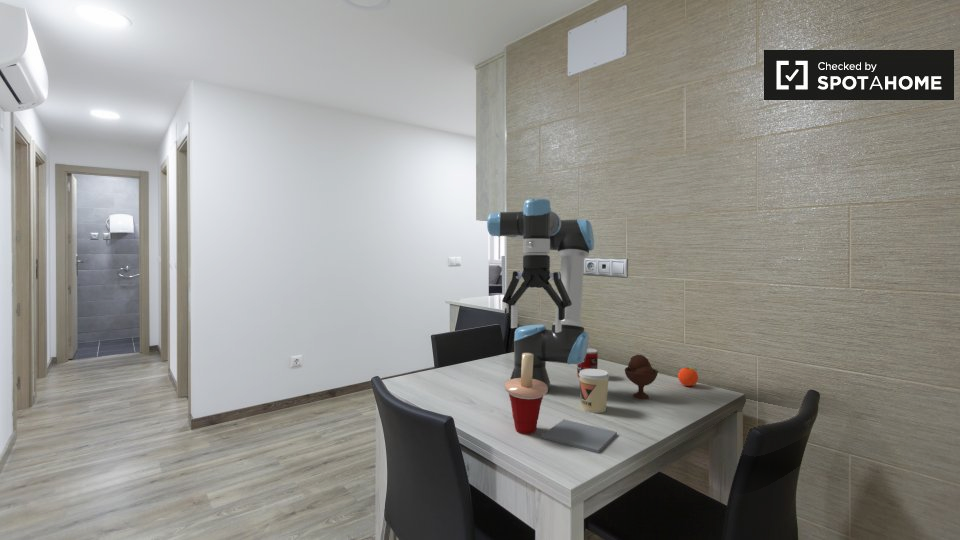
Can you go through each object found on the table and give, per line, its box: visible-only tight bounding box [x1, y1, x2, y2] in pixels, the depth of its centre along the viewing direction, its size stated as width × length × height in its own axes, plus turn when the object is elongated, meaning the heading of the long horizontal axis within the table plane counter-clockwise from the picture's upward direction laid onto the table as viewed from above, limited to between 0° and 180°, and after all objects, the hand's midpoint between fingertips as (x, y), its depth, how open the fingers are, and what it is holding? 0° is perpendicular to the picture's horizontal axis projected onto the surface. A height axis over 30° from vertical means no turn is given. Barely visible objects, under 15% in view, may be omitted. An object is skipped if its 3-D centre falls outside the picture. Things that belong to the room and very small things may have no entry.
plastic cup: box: [507, 392, 545, 435], centre depth 127 cm, size 11×11×12 cm
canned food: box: [576, 347, 599, 379], centre depth 181 cm, size 8×8×11 cm
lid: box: [504, 353, 549, 397], centre depth 126 cm, size 12×12×10 cm
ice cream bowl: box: [624, 354, 659, 400], centre depth 156 cm, size 11×11×15 cm
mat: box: [541, 419, 618, 454], centre depth 123 cm, size 16×14×1 cm
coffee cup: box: [579, 368, 610, 414], centre depth 144 cm, size 9×9×12 cm
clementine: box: [677, 366, 699, 387], centre depth 169 cm, size 8×7×7 cm
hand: (535, 329), depth 126 cm, fingers open, 13 cm apart
